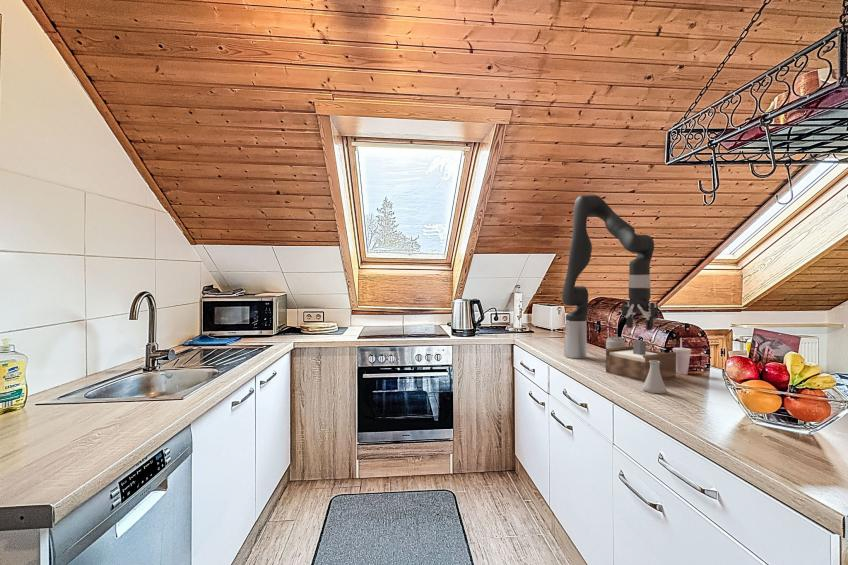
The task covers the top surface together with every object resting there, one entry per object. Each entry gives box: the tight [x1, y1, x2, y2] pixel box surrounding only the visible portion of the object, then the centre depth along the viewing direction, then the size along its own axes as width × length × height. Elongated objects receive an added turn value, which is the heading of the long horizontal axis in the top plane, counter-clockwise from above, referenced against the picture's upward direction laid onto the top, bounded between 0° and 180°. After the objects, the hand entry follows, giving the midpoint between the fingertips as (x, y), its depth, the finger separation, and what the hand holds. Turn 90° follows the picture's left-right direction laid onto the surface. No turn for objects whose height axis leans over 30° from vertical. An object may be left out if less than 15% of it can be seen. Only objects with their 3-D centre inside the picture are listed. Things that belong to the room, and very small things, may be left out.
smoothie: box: [672, 337, 692, 376], centre depth 167 cm, size 6×6×14 cm
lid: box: [609, 339, 657, 362], centre depth 165 cm, size 17×13×6 cm
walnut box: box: [605, 345, 677, 383], centre depth 165 cm, size 18×16×10 cm
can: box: [605, 336, 626, 349], centre depth 183 cm, size 8×8×12 cm
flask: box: [641, 360, 668, 394], centre depth 142 cm, size 7×7×10 cm
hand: (639, 328), depth 164 cm, fingers open, 8 cm apart
